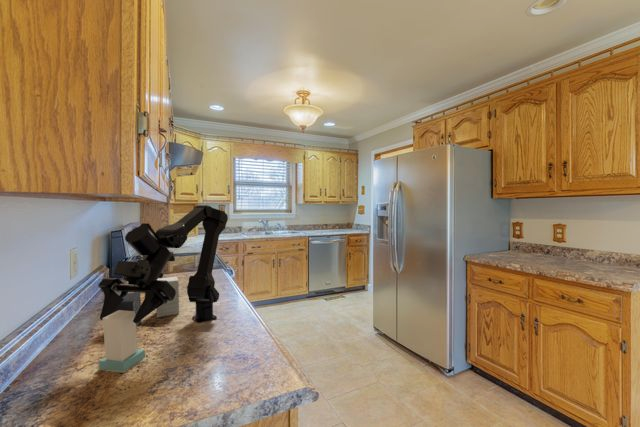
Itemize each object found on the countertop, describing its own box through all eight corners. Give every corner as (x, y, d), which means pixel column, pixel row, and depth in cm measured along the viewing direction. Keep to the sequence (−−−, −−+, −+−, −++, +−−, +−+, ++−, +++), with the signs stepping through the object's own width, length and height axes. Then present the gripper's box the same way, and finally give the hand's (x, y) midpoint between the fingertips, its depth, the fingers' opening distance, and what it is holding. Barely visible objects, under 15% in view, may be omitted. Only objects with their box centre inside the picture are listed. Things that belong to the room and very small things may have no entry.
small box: (119, 324, 99) (119, 293, 99) (141, 321, 102) (141, 291, 101) (109, 337, 89) (109, 302, 89) (134, 333, 92) (134, 300, 92)
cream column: (122, 348, 73) (119, 310, 73) (137, 350, 73) (134, 311, 72) (106, 359, 69) (102, 318, 68) (122, 361, 68) (119, 319, 67)
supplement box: (178, 308, 115) (177, 276, 115) (179, 314, 109) (178, 280, 108) (156, 311, 112) (156, 278, 111) (156, 317, 105) (155, 282, 105)
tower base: (124, 362, 75) (123, 354, 75) (147, 365, 74) (147, 357, 74) (98, 377, 68) (98, 369, 68) (124, 381, 67) (124, 372, 67)
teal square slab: (122, 355, 75) (122, 347, 75) (145, 357, 74) (144, 349, 74) (99, 369, 68) (99, 360, 68) (123, 371, 67) (123, 362, 67)
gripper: (104, 246, 77) (59, 302, 66) (167, 248, 73) (131, 307, 62) (129, 270, 84) (93, 324, 74) (188, 273, 81) (159, 329, 70)
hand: (117, 321), depth 70 cm, fingers open, 9 cm apart
